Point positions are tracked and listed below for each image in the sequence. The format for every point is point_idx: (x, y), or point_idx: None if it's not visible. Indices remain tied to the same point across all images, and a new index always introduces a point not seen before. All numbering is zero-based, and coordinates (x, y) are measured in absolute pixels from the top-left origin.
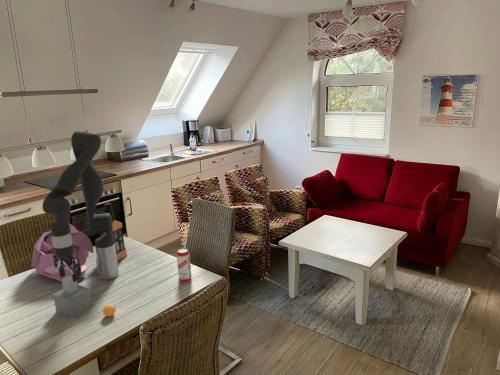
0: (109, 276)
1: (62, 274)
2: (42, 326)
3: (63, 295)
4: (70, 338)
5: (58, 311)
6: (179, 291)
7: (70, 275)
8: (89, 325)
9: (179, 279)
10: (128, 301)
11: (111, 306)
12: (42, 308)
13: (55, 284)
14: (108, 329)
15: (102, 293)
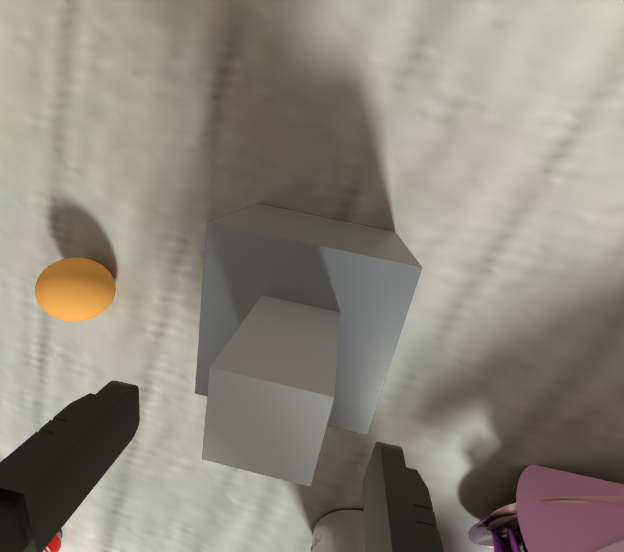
0: (326, 530)
1: (376, 493)
2: (371, 80)
3: (306, 273)
4: (116, 42)
5: (372, 228)
6: None
7: (531, 521)
8: (123, 180)
9: None
10: None
11: (37, 300)
12: (515, 241)
13: (604, 452)
14: (16, 181)
15: None
